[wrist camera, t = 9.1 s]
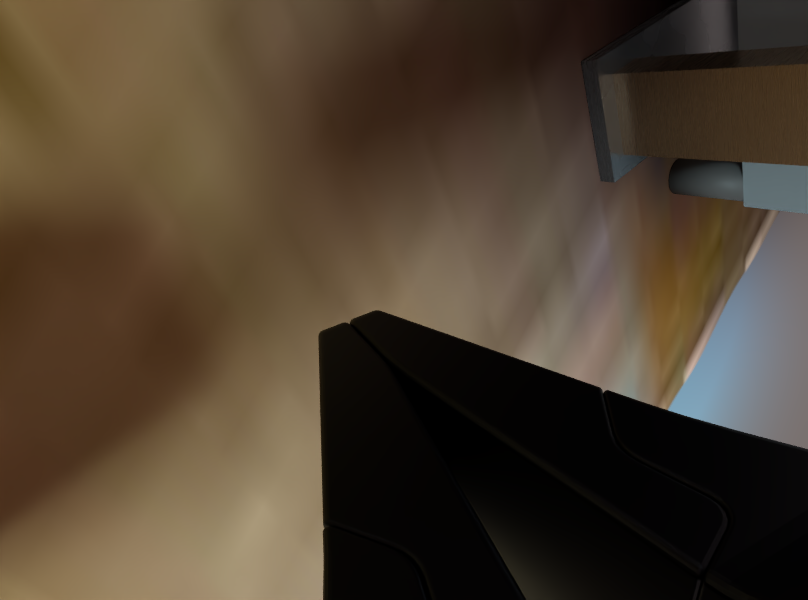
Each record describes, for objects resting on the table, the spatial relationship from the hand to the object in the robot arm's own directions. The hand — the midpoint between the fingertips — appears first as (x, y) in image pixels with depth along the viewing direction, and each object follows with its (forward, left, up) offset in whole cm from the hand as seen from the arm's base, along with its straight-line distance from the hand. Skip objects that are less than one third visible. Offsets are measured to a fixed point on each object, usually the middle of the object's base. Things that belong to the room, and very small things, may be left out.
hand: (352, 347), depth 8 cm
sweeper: (+18, -23, -12) cm, 31 cm away
